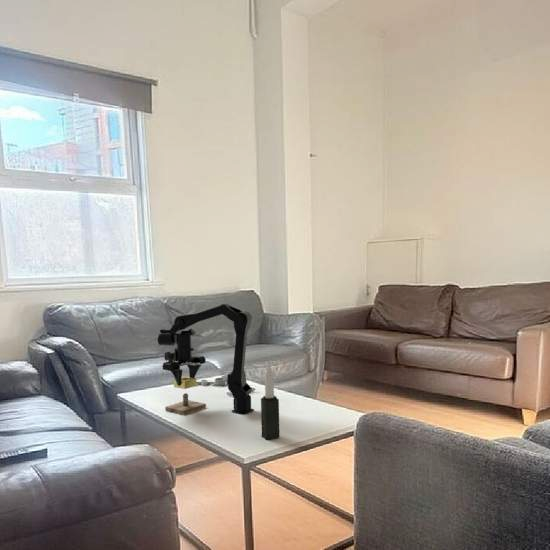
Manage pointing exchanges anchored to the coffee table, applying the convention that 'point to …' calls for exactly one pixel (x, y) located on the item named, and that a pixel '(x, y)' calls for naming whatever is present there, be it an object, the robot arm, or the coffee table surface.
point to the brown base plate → (185, 406)
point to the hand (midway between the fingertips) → (185, 383)
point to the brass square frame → (186, 383)
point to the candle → (270, 408)
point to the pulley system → (217, 382)
